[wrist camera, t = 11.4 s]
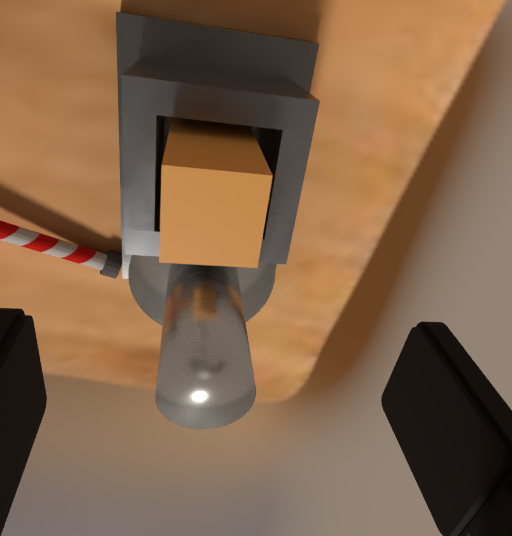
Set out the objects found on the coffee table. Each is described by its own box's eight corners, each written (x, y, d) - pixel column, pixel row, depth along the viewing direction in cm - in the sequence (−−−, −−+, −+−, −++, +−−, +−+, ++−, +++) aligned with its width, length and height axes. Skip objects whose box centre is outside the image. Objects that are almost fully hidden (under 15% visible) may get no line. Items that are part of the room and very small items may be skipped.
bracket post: (120, 11, 25) (30, 16, 12) (313, 42, 27) (429, 76, 14) (125, 288, 35) (81, 463, 22) (266, 295, 37) (305, 458, 24)
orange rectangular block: (174, 105, 27) (161, 164, 17) (244, 114, 28) (272, 175, 17) (172, 173, 29) (159, 262, 19) (236, 179, 30) (257, 268, 20)
